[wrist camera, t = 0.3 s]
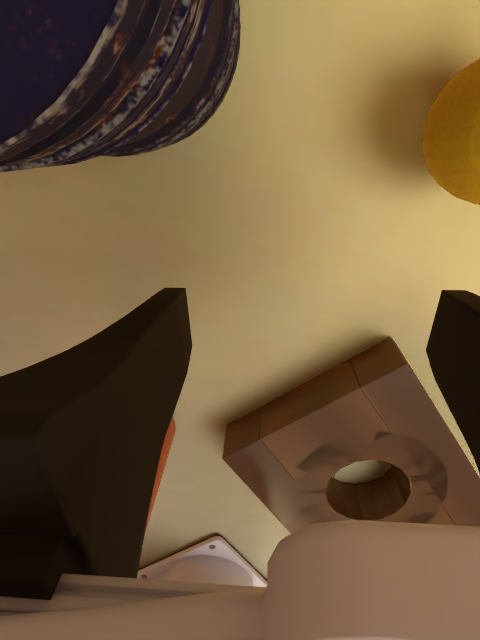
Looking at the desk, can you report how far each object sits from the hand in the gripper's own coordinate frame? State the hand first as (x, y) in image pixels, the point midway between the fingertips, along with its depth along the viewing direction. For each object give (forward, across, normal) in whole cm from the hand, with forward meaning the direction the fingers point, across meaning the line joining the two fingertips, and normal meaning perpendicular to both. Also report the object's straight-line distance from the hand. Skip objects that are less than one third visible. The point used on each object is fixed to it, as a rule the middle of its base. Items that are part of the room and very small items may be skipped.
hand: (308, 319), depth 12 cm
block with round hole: (+9, -5, +16) cm, 19 cm away
